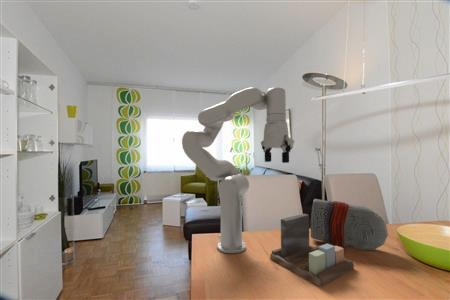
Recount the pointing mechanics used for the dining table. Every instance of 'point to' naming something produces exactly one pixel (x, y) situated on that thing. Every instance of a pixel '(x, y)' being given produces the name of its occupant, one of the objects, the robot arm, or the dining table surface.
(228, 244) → the robot arm
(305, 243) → the charcoal panel
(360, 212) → the decorative stone tablet
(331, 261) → the slate offcut board
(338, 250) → the terracotta offcut board
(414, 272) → the dining table surface
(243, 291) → the dining table surface
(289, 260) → the walnut rack
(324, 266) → the sage offcut board
